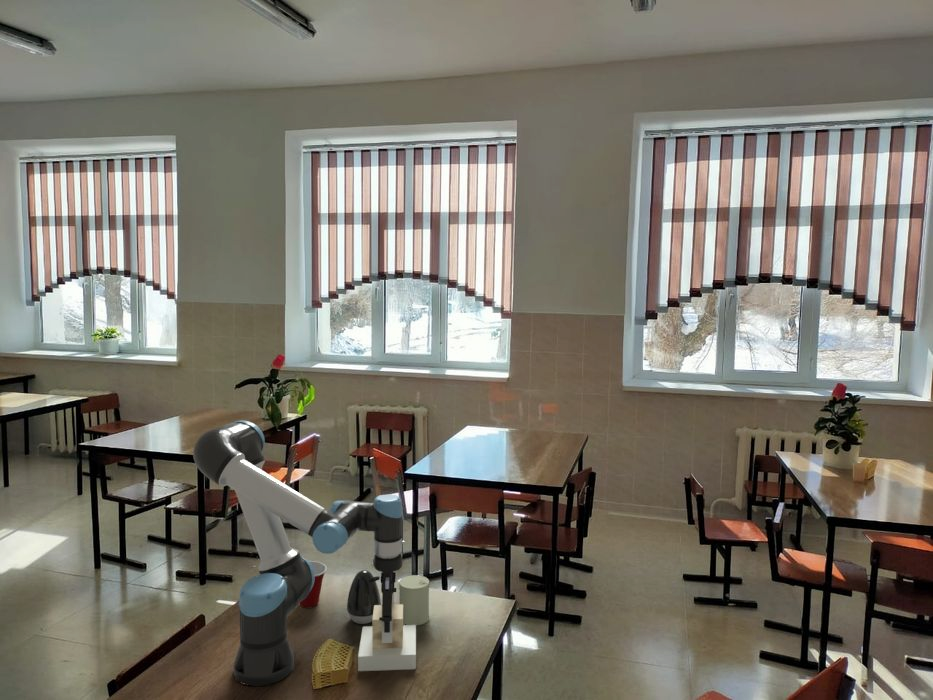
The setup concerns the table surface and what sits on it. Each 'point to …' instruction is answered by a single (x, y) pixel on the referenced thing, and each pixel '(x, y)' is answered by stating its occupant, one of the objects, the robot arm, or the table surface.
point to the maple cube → (396, 627)
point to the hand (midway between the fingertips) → (388, 628)
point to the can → (414, 599)
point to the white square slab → (387, 652)
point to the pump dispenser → (363, 597)
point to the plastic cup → (315, 585)
